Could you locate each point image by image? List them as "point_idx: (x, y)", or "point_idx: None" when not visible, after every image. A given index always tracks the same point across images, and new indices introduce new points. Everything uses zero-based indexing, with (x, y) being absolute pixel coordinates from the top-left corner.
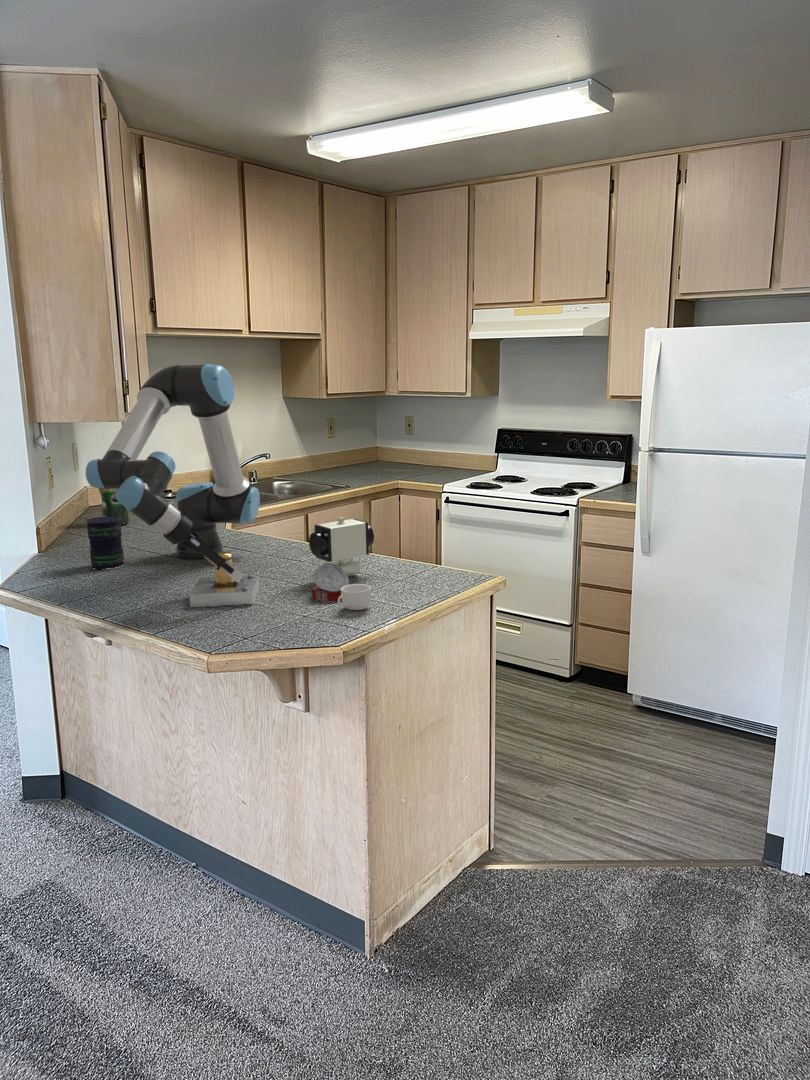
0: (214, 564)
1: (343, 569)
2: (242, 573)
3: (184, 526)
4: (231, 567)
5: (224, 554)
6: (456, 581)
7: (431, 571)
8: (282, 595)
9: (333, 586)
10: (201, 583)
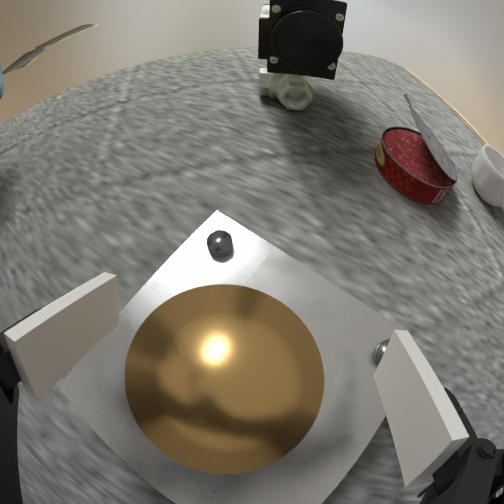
0: (83, 353)
1: (311, 83)
2: (412, 340)
3: None
4: (461, 408)
5: (267, 384)
6: (395, 72)
7: None
8: (352, 232)
9: (445, 158)
10: (135, 446)
